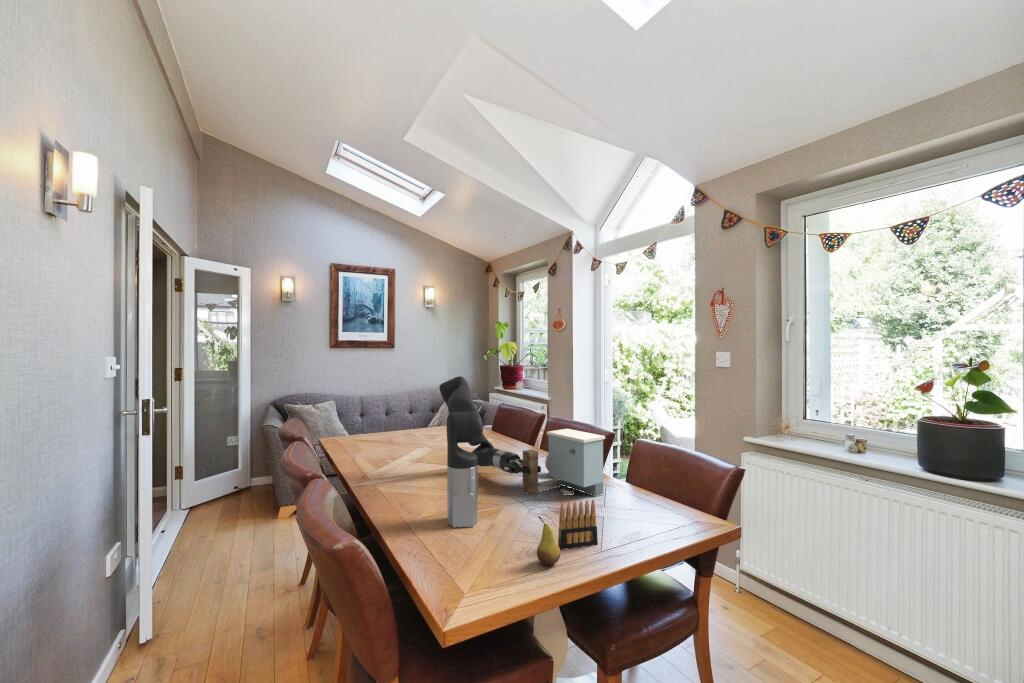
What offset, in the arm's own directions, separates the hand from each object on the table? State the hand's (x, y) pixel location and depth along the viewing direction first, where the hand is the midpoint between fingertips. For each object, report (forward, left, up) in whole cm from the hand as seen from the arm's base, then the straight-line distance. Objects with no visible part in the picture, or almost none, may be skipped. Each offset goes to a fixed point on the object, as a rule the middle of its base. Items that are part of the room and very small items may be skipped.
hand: (535, 470), depth 166 cm
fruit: (-52, +7, -9) cm, 54 cm away
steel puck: (0, -12, -9) cm, 15 cm away
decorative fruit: (+22, -13, -9) cm, 27 cm away
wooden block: (+5, -4, -8) cm, 11 cm away
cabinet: (+2, -15, -9) cm, 17 cm away
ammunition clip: (-43, -3, -9) cm, 44 cm away
